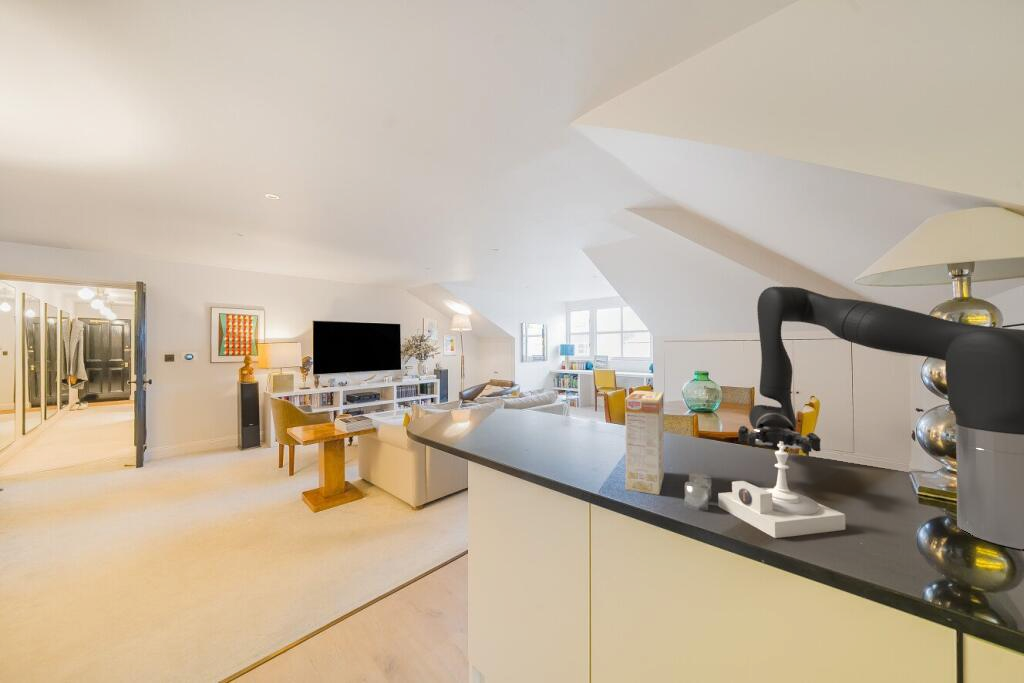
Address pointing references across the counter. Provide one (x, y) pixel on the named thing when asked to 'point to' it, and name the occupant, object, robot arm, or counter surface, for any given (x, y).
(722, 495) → the scale
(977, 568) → the counter surface
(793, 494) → the chess piece
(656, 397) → the coffeecake box
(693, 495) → the spacer
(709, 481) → the spacer
